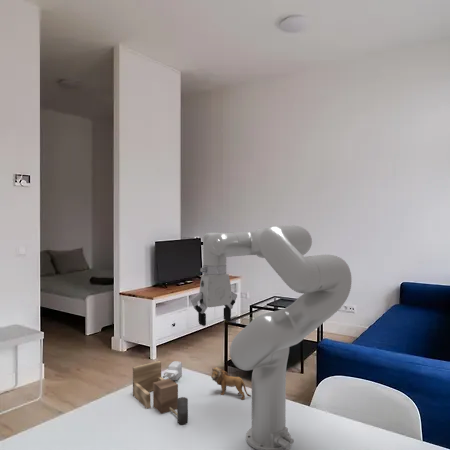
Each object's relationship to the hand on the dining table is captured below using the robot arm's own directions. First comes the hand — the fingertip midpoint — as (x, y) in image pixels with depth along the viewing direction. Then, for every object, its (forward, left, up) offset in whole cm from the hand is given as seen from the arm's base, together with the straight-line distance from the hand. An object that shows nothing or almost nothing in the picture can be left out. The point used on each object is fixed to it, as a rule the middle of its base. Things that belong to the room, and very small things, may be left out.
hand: (215, 322), depth 131 cm
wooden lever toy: (+5, +13, -28) cm, 32 cm away
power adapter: (+28, +1, -29) cm, 40 cm away
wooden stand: (+19, +13, -28) cm, 36 cm away
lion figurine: (+6, -10, -29) cm, 31 cm away
